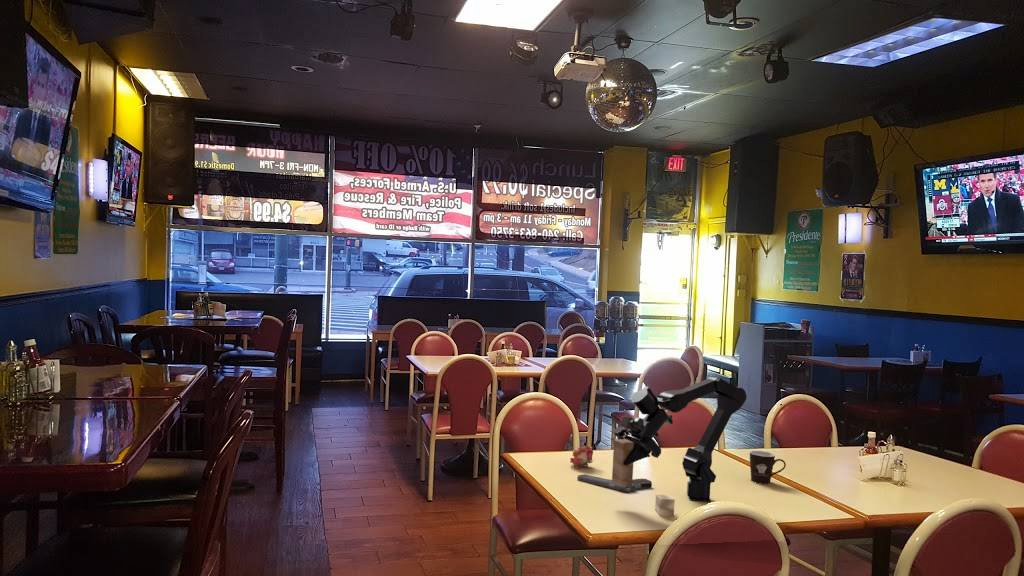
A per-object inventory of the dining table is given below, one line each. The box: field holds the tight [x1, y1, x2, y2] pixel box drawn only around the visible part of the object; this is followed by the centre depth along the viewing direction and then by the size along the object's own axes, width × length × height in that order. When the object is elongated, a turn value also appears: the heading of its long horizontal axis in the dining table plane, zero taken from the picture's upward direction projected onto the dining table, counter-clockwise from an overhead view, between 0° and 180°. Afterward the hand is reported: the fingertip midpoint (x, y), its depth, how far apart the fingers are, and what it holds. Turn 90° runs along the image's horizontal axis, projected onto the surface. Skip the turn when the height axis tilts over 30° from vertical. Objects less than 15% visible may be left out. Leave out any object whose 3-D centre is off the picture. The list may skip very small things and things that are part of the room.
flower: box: [569, 445, 594, 469], centre depth 267 cm, size 10×9×8 cm
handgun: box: [576, 473, 653, 493], centre depth 247 cm, size 3×22×14 cm
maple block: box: [654, 494, 676, 517], centre depth 217 cm, size 4×4×5 cm
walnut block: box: [611, 438, 634, 487], centre depth 222 cm, size 4×5×13 cm
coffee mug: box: [749, 450, 787, 485], centre depth 259 cm, size 12×9×10 cm
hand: (619, 462), depth 221 cm, fingers closed on walnut block, 5 cm apart
